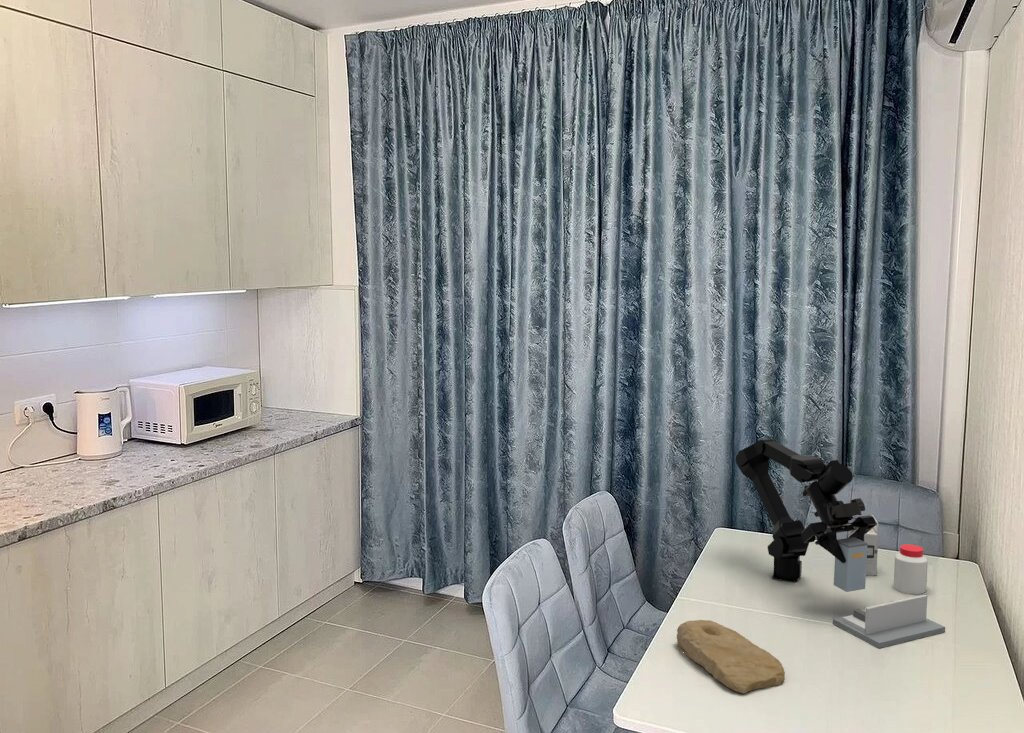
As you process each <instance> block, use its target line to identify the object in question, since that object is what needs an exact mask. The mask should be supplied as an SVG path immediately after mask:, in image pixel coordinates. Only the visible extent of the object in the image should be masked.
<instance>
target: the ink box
mask: <svg viewBox="0 0 1024 733" xmlns="http://www.w3.org/2000/svg"><path fill="white" fill-rule="evenodd" d="M871 516H872V517H874V519H875V521H876V523H877V525H876V526H875V527H873V528H872V529H871V530H870V531H869V532H867V533H866V534H865V535H864V542H866V543H868V545H867V563H866V576H874V575H876V576H877V574H878V573H877V572H878V571H877V570H878V554H879V553H878V548H879V522H878V520H877V519H876V517H875V515H873V514H871Z"/></svg>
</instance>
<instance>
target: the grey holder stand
mask: <svg viewBox="0 0 1024 733" xmlns="http://www.w3.org/2000/svg"><path fill="white" fill-rule="evenodd" d="M927 606H928V595H926V594H919V595H917V596H911V597H908V598H903V599H899V600H892V601H888V602H885V603H881V604H875V605H871V606H867V607H865V611H864V610H862V609H860V608H856V609H853V610H852V611H853V612H852V614H849V615H848V614H847V615H844V616H843V615H842V616H840V617H839V616H838V617H835V618H832V625H835V626H836V627H838V628H840V629H842V630H844V631H846V632H848V633H849V634H850V635H851V634H852V635H854V636H855V637H857V638H859V639H861V640H862V641H865V642H866V643H869V644H870V645H872V646H874V647H875V648H878V649H882V648H886V647H889V646H893V645H897V644H902V643H906V642H910V641H915V640H917V639H922V638H926V637H930V636H934V635H935V636H936V635H938V634H942V633H946V626H944V625H942V624H940V623H938V622H936V621H933V620H931V619H929V618H927V612H928V611H927V610H928V607H927Z"/></svg>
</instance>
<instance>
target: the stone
mask: <svg viewBox="0 0 1024 733" xmlns="http://www.w3.org/2000/svg"><path fill="white" fill-rule="evenodd" d="M676 632H677V633H676V641H677V642H676V643H677V646H679V647H678V648H680V649H681V650H682V651H681V650H680V649H679V650H680V651H681V652H682V653H683V652H684V653H683V654H684V656H686V657H688V659H689V660H692V661H693V662H695V664H698V665H699V666H702V667H703V668H704V669H705V671H707V673H709V674H711V675H712V676H713V678H714V680H717V681H718V682H720V683H722V684H723V685H724V686H726V687H727V688H728V689H731V691H734V692H737V693H740V694H746V693H747V692H751V691H752V690H758V689H763V688H770V687H775V686H780V684H782V682H784V681H785V679H786V678H785V677H786V676H785V675H786V674H785V673H786V672H785V668H784V667H783V665H782V663H781V661H780V660H779V658H776V656H774V655H772V653H770V652H769V651H767V650H766V649H764V648H761V647H759V646H758V645H756V644H755V643H753V642H752V641H750V640H749V639H748V638H746V637H745V636H743V635H742V634H740V633H739V632H738V631H736V630H734V629H731V628H729V627H727V626H724V625H722V624H719V623H718V622H717V621H712V620H711V619H709V620H707V619H706V620H705V619H696V620H686V621H684V622H683V623H680V624H679V625H678V626H677V629H676Z"/></svg>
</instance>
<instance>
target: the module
mask: <svg viewBox="0 0 1024 733" xmlns="http://www.w3.org/2000/svg"><path fill="white" fill-rule="evenodd" d="M837 541H838V543H839V546H840V548H841V550H842V552H843V554H844V556H845V559H846V562H845V563H842V562H841V561H839V560H838V559H837V558H836V557H835V556H834V567H833V568H834V569H833V570H834V571H833V576H834V577H833V586H835V587H837V588H838V589H840V590H842V591H844V592H846V593H849V592H856V591H861V590H865V589H866V583H867V582H866V580H867V579H866V578H867V575H866V563H867V545H868V543H866V542H864V541H862V540H859V539H857V538H855V537H852V538H848V537H847V538H838V539H837Z"/></svg>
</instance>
